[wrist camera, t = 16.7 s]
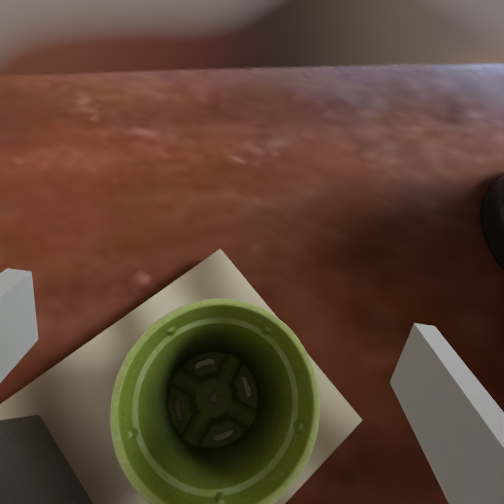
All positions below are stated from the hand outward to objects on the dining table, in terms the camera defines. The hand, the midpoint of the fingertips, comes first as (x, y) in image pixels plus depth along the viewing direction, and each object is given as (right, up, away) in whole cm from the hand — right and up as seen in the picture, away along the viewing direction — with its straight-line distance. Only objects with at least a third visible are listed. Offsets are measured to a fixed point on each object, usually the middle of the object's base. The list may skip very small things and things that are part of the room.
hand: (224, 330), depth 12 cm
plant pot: (-2, -7, +12) cm, 14 cm away
